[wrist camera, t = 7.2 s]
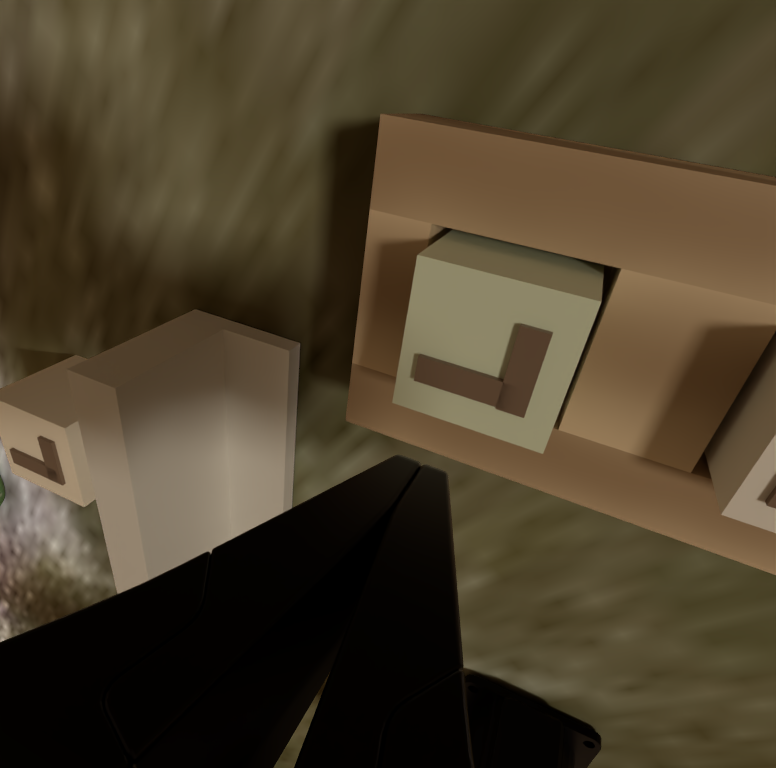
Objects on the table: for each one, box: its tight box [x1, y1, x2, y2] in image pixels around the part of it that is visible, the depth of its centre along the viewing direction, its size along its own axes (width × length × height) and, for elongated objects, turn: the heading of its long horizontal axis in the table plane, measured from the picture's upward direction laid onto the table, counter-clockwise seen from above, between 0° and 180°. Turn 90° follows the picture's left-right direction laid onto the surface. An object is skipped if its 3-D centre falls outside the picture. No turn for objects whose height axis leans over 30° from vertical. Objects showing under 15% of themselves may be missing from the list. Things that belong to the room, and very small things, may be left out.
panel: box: [346, 114, 776, 575], centre depth 13 cm, size 9×16×3 cm, turn 81°
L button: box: [392, 229, 604, 454], centre depth 13 cm, size 4×4×3 cm
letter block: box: [0, 355, 96, 507], centre depth 24 cm, size 4×4×5 cm
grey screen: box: [66, 309, 300, 594], centre depth 21 cm, size 14×5×6 cm, turn 171°
